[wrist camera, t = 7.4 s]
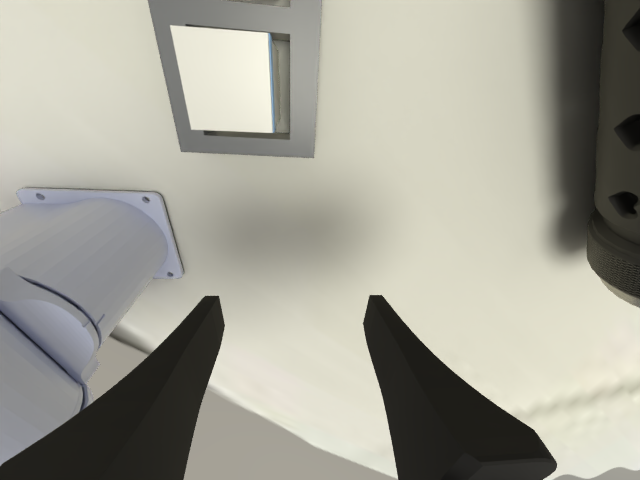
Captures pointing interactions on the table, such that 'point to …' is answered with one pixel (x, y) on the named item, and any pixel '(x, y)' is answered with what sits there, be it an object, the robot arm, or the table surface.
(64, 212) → the robot arm
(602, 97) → the muzzle brake
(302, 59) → the socket board
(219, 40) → the grey plug
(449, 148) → the table surface
